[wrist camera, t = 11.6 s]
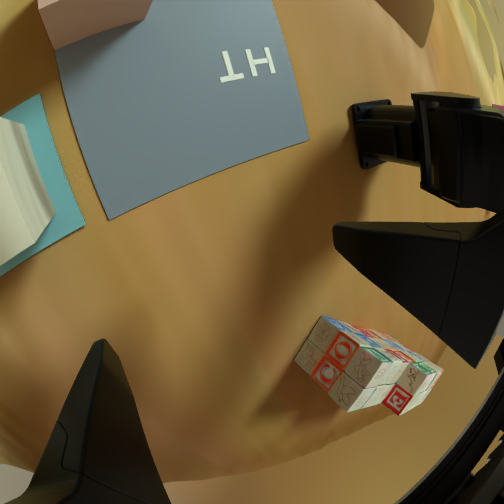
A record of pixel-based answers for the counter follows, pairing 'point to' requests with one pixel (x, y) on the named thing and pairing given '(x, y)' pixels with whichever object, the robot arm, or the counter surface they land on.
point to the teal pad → (45, 179)
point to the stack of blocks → (365, 367)
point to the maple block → (20, 192)
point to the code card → (180, 96)
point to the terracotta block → (87, 17)
